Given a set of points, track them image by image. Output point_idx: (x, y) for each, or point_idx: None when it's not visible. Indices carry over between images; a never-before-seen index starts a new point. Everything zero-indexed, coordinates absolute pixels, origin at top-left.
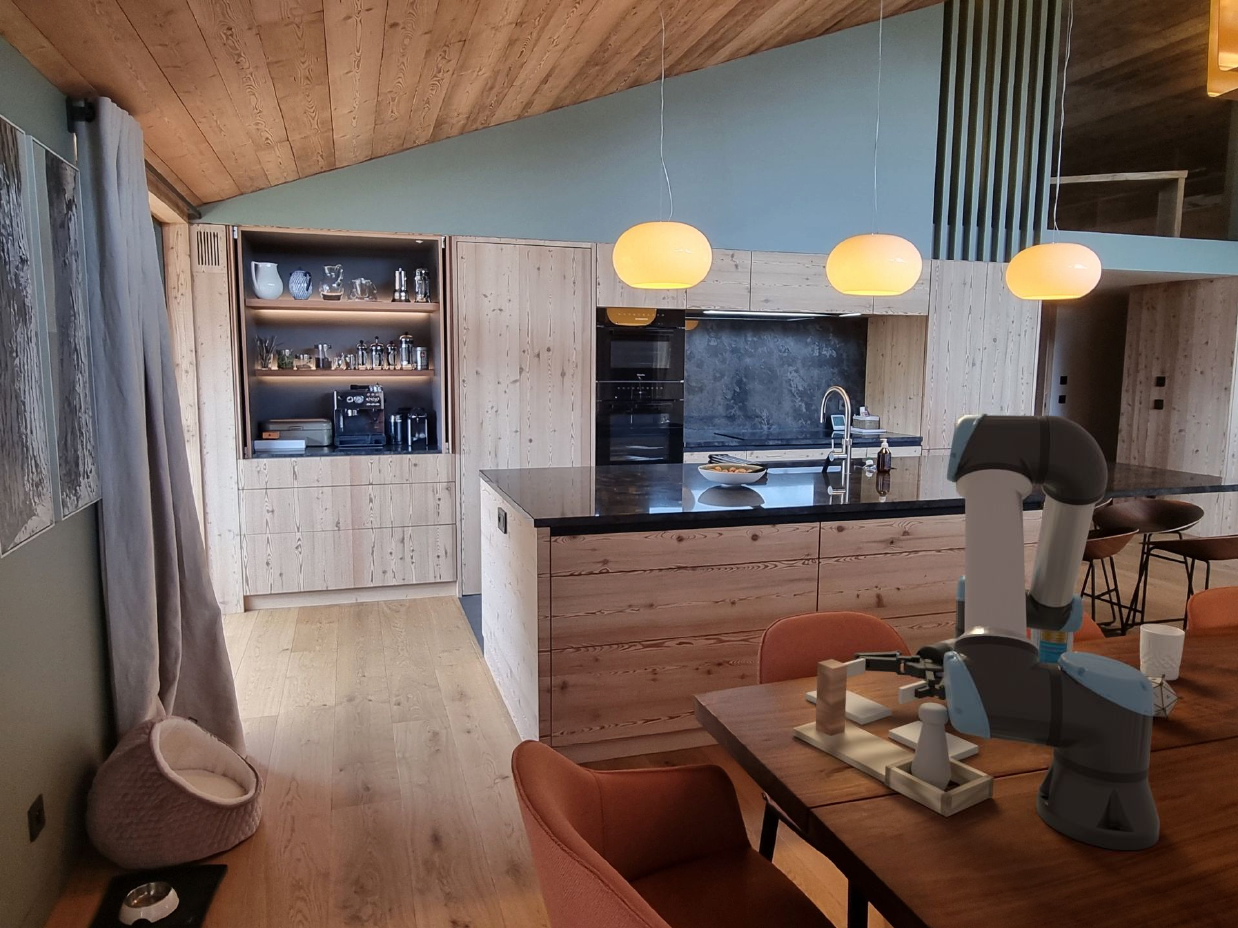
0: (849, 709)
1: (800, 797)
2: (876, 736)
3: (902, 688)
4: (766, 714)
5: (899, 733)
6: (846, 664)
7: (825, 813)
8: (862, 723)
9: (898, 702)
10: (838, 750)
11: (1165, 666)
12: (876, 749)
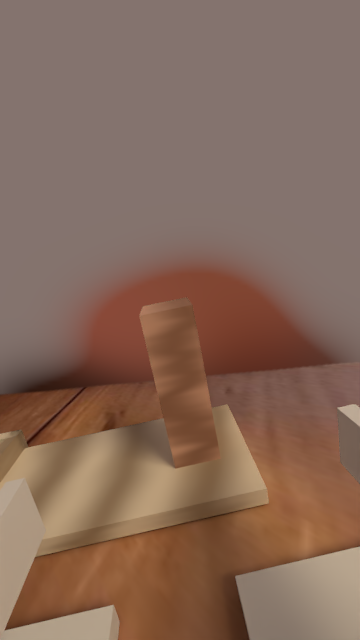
0: (328, 585)
1: (102, 385)
2: (112, 523)
3: (6, 488)
4: (332, 410)
5: (73, 633)
6: (358, 427)
7: (69, 392)
8: (239, 596)
9: (42, 529)
10: (126, 428)
11: None
12: (78, 482)
